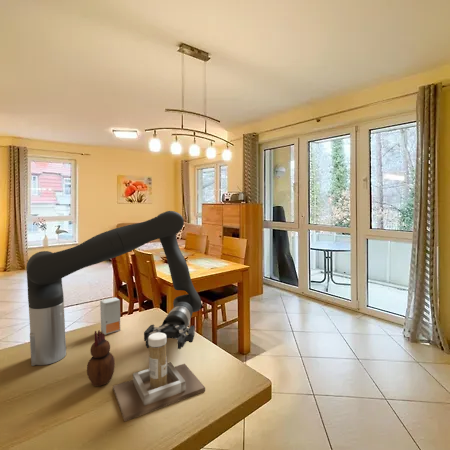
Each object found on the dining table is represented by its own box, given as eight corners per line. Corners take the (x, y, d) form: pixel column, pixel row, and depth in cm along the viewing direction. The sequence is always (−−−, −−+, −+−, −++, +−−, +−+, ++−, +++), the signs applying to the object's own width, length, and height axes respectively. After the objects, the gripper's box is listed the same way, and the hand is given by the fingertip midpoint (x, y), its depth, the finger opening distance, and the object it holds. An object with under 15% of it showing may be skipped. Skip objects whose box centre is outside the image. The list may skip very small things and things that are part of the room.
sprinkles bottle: (170, 387, 75) (169, 336, 74) (153, 394, 72) (151, 341, 71) (163, 378, 78) (162, 330, 77) (146, 384, 76) (145, 334, 75)
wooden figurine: (97, 392, 74) (94, 335, 73) (83, 385, 78) (81, 330, 76) (119, 379, 80) (117, 325, 79) (106, 372, 83) (104, 321, 82)
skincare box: (104, 335, 107) (103, 303, 106) (100, 331, 110) (99, 300, 109) (121, 330, 111) (120, 299, 110) (116, 326, 114) (115, 296, 113)
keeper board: (124, 421, 65) (124, 406, 64) (113, 389, 76) (112, 376, 75) (205, 391, 75) (204, 377, 75) (184, 366, 86) (184, 355, 86)
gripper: (155, 309, 96) (137, 331, 80) (198, 310, 95) (189, 332, 79) (156, 331, 96) (138, 357, 80) (199, 332, 95) (189, 359, 79)
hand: (163, 345), depth 79 cm, fingers open, 8 cm apart
